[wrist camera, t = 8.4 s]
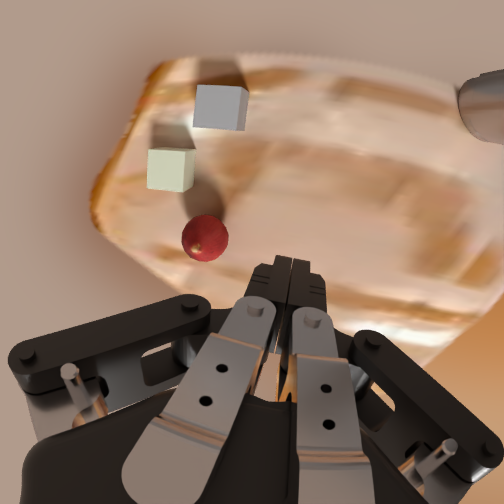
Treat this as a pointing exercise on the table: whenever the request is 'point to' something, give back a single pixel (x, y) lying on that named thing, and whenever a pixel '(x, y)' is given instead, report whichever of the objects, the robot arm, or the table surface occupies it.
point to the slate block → (221, 107)
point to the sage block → (171, 168)
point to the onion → (204, 238)
